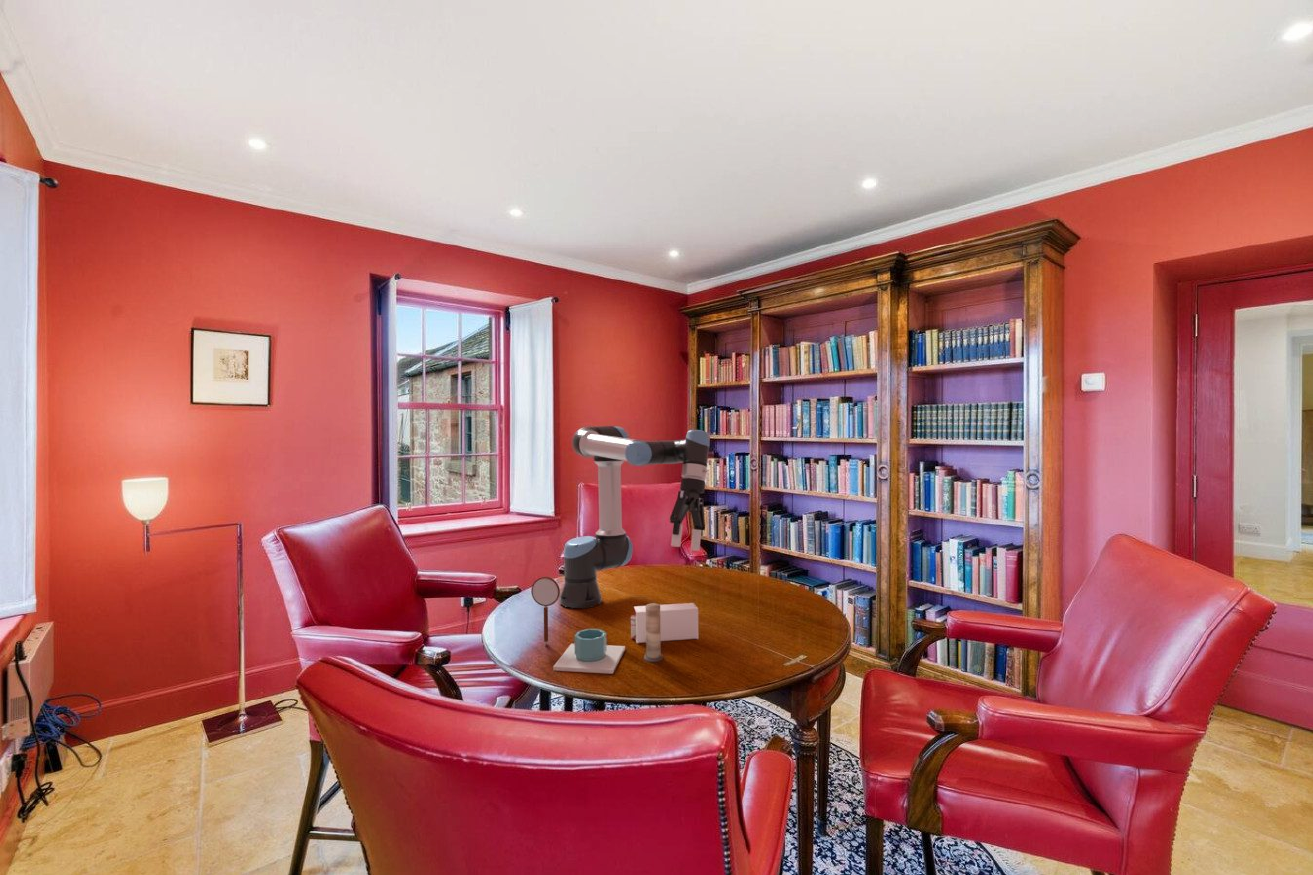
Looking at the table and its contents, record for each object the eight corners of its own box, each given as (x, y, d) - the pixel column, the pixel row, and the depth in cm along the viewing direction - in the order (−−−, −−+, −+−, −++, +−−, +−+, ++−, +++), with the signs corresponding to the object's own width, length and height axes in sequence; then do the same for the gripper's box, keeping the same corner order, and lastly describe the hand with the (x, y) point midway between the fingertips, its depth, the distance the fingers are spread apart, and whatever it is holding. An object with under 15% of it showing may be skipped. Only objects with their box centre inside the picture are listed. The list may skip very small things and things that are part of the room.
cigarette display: (694, 632, 172) (693, 602, 172) (698, 639, 167) (698, 608, 167) (630, 637, 169) (629, 606, 169) (632, 644, 163) (632, 612, 163)
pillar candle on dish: (645, 653, 156) (645, 602, 156) (664, 654, 155) (663, 602, 155) (642, 661, 151) (642, 608, 151) (661, 662, 150) (661, 608, 150)
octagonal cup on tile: (571, 646, 162) (571, 622, 161) (625, 649, 159) (624, 625, 159) (553, 670, 146) (552, 643, 146) (612, 673, 143) (612, 646, 143)
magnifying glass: (531, 644, 163) (530, 577, 163) (533, 642, 165) (532, 575, 165) (559, 646, 162) (558, 577, 162) (561, 643, 164) (560, 576, 164)
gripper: (687, 471, 160) (678, 545, 155) (719, 487, 181) (712, 553, 176) (664, 470, 163) (655, 543, 158) (698, 486, 184) (691, 551, 180)
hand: (685, 548), depth 167 cm, fingers open, 13 cm apart
